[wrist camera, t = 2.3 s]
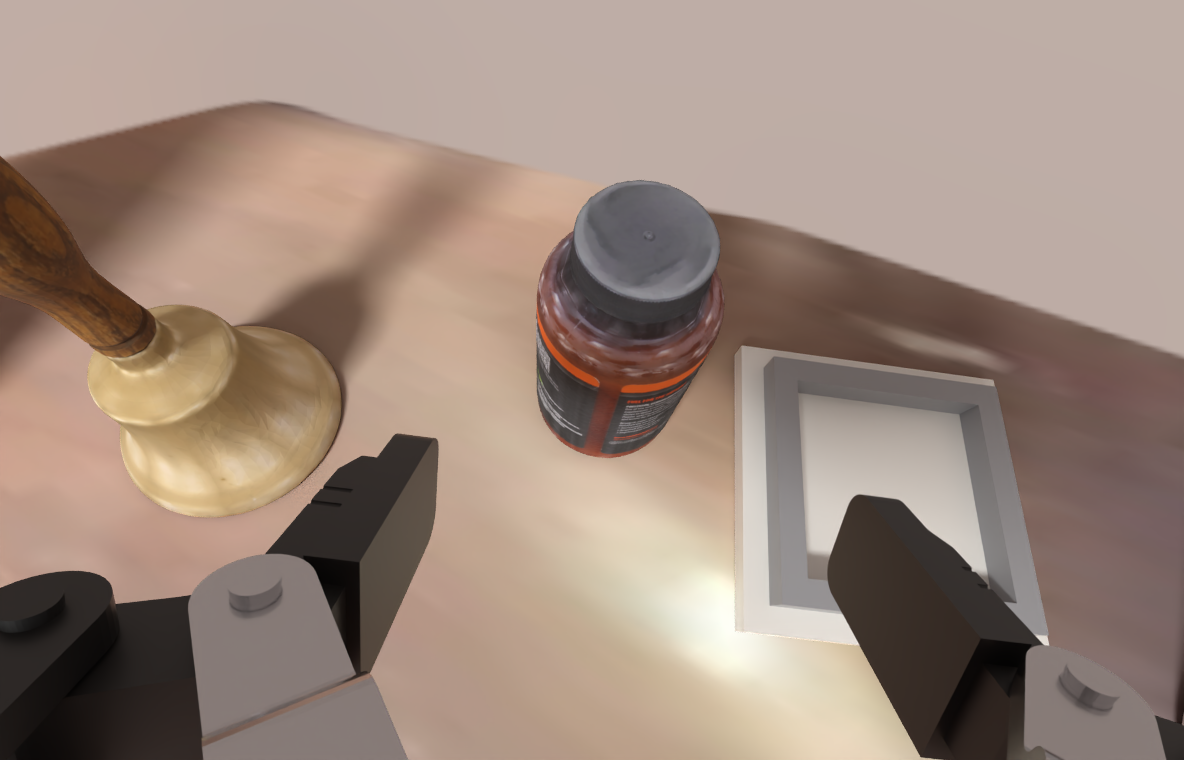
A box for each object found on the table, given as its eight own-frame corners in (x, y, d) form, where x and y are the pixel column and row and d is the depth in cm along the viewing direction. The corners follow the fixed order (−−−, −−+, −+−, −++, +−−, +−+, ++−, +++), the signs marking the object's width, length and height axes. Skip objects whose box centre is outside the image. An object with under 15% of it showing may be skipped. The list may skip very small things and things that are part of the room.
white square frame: (734, 631, 22) (755, 632, 20) (734, 355, 27) (750, 332, 25) (1032, 665, 22) (1081, 669, 20) (977, 388, 27) (1013, 369, 25)
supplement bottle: (693, 389, 26) (801, 230, 15) (616, 490, 23) (681, 383, 13) (591, 315, 27) (627, 119, 16) (507, 404, 25) (488, 243, 14)
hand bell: (285, 297, 26) (-40, -136, 11) (379, 436, 23) (129, 125, 9) (91, 396, 23) (-668, -1, 8) (178, 563, 21) (-644, 417, 6)
